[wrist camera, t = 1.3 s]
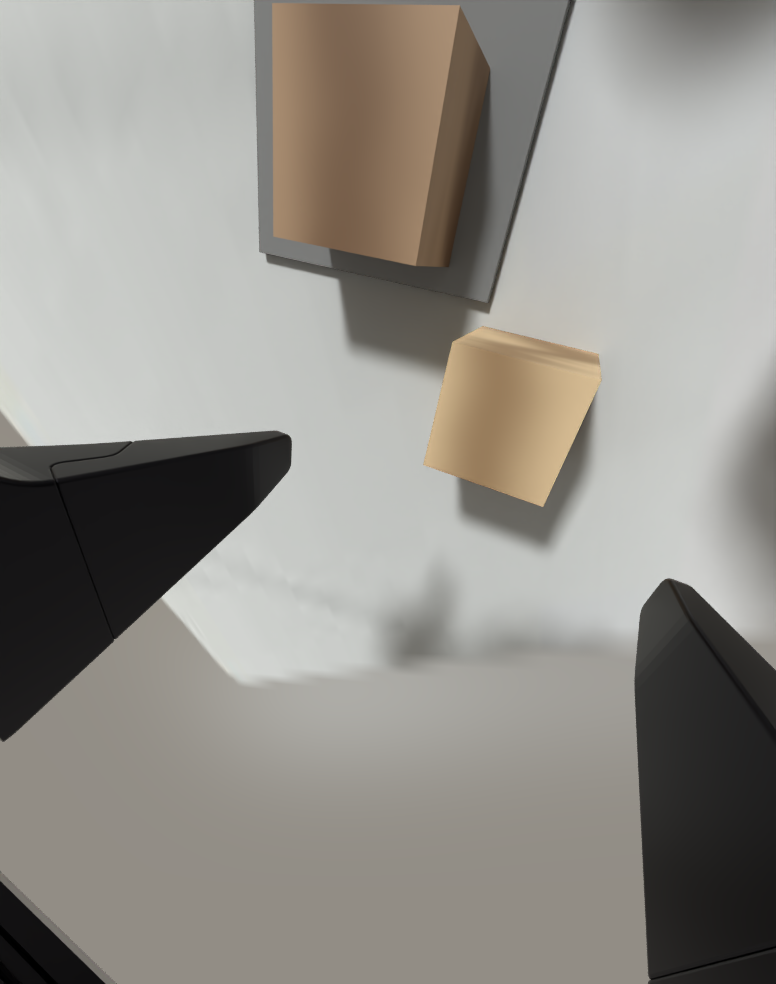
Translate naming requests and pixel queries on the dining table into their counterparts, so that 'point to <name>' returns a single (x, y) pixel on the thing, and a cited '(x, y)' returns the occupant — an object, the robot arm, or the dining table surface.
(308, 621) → the dining table surface
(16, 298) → the dining table surface
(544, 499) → the oak cube
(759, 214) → the dining table surface
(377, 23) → the walnut block
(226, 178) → the dining table surface
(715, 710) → the robot arm
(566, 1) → the slate mat
